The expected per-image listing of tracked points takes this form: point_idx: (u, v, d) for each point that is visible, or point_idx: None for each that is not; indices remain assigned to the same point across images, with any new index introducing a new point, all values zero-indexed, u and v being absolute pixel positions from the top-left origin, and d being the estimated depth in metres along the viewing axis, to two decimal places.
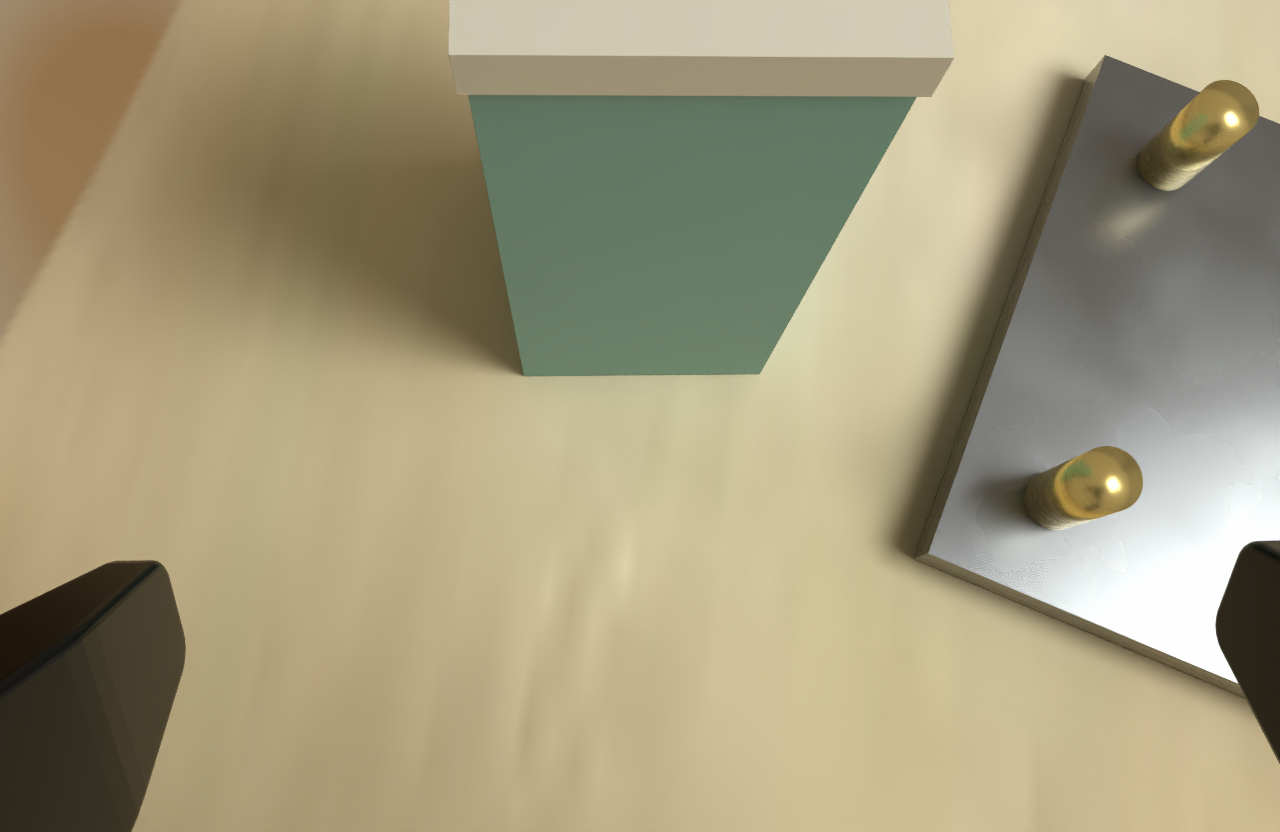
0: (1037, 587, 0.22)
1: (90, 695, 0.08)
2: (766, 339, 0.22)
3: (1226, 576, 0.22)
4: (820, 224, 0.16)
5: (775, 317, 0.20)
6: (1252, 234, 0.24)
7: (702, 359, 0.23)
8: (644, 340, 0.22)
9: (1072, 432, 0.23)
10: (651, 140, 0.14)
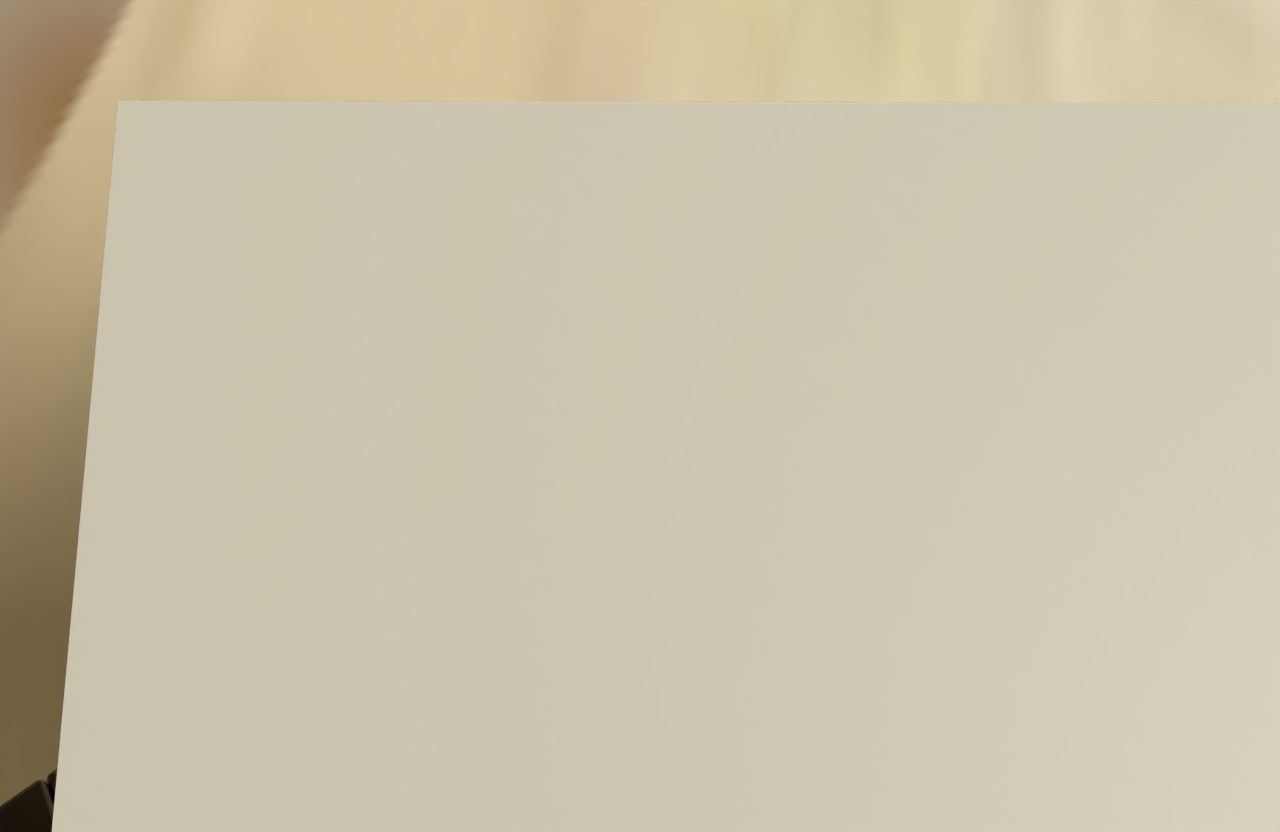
0: None
1: None
2: None
3: None
4: None
5: None
6: None
7: None
8: None
9: None
10: None
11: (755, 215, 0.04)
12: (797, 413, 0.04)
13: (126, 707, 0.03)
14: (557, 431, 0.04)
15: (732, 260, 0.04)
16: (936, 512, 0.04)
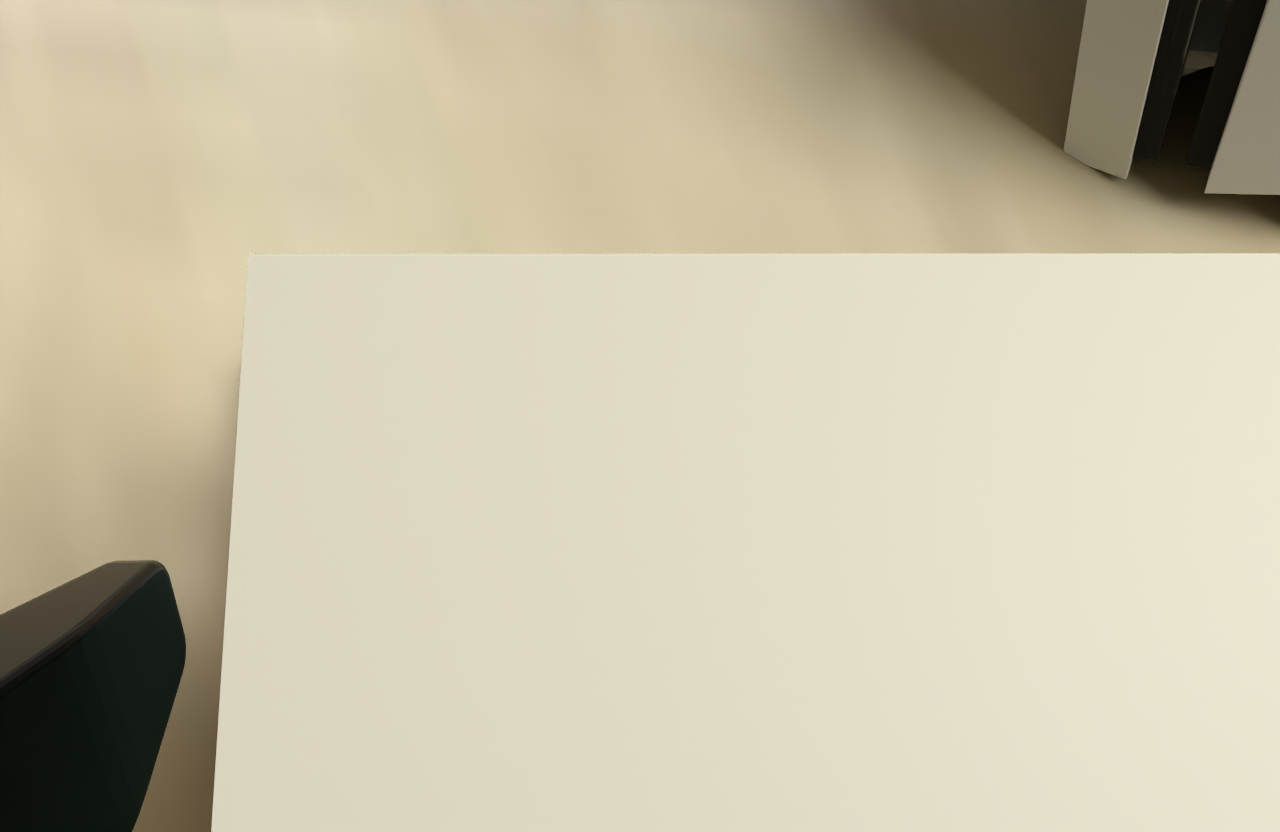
0: None
1: (91, 695, 0.08)
2: None
3: None
4: None
5: None
6: None
7: None
8: None
9: None
10: None
11: (712, 339, 0.05)
12: (740, 485, 0.05)
13: (264, 694, 0.05)
14: (567, 499, 0.05)
15: (695, 372, 0.05)
16: (839, 558, 0.05)
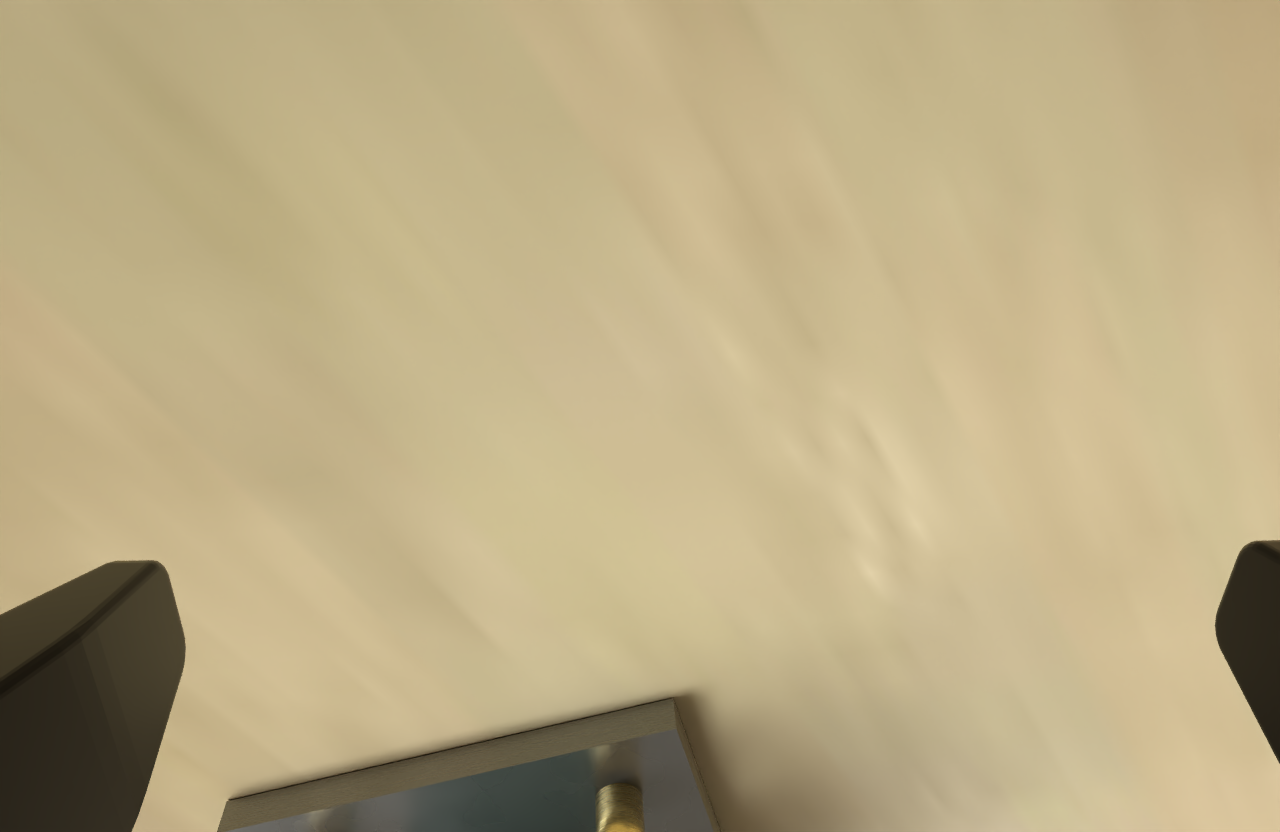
0: (590, 754, 0.28)
1: (90, 695, 0.08)
2: None
3: (479, 828, 0.29)
4: None
5: None
6: None
7: None
8: None
9: None
10: None
11: None
12: None
13: None
14: None
15: None
16: None
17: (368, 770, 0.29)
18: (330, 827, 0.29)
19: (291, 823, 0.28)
